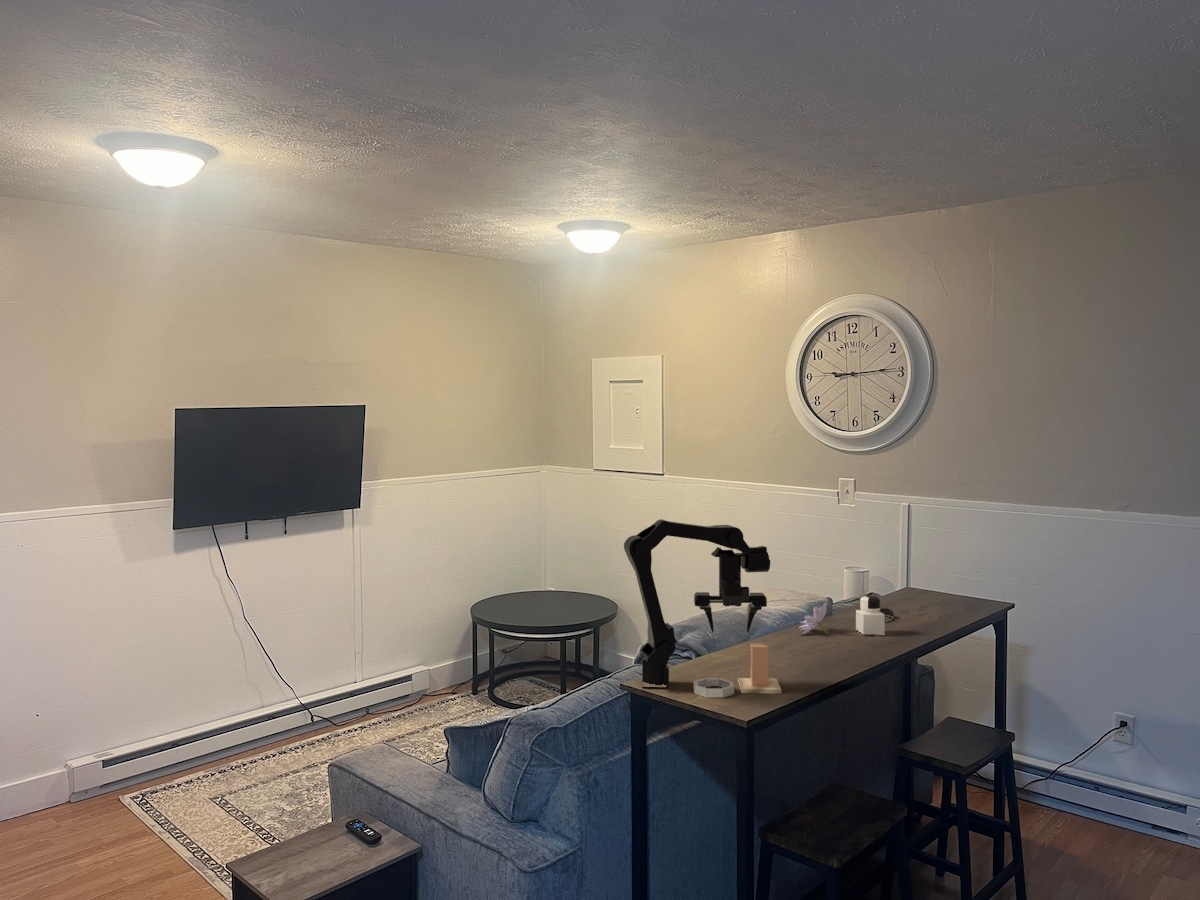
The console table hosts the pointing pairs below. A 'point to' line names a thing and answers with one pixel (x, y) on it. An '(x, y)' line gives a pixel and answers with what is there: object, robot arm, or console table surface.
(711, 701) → the console table surface
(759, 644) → the peg
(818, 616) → the water lily
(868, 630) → the medicine bottle
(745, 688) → the maple board
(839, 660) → the console table surface
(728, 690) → the metal ring
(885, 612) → the hairbrush
